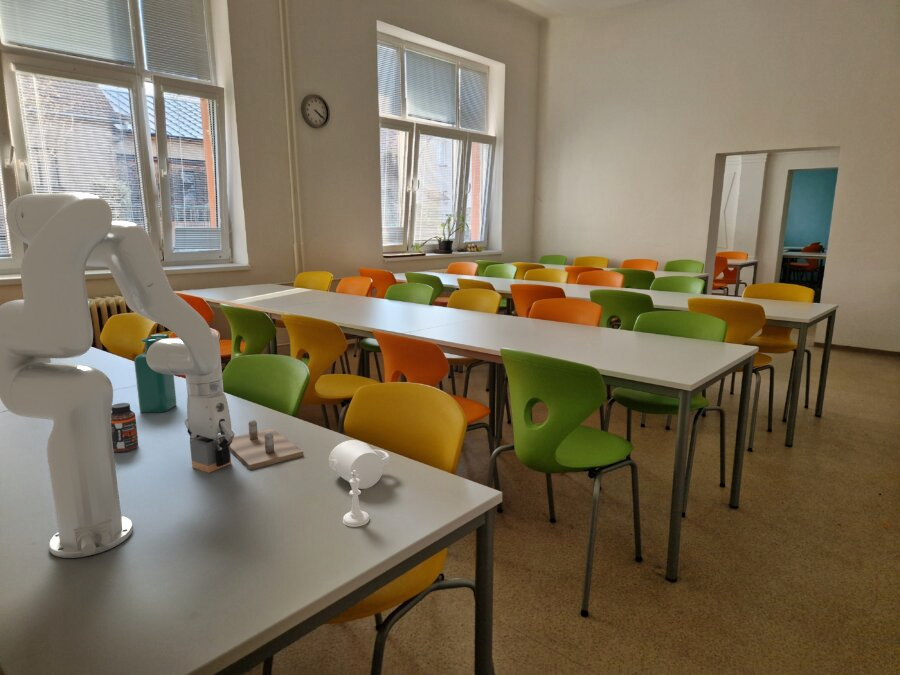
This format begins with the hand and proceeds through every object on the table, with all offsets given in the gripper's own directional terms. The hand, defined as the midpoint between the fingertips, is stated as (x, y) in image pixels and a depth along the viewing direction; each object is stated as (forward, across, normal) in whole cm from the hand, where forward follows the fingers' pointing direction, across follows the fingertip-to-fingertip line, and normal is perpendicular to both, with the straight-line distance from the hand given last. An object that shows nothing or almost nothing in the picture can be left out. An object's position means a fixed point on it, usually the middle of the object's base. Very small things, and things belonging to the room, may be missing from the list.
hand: (211, 460), depth 133 cm
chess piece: (+1, -45, +2) cm, 45 cm away
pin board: (+1, -2, -12) cm, 13 cm away
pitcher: (+2, +51, -18) cm, 54 cm away
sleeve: (+1, 0, 0) cm, 1 cm away
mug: (+2, -34, -13) cm, 37 cm away
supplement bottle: (+1, +27, +5) cm, 28 cm away
